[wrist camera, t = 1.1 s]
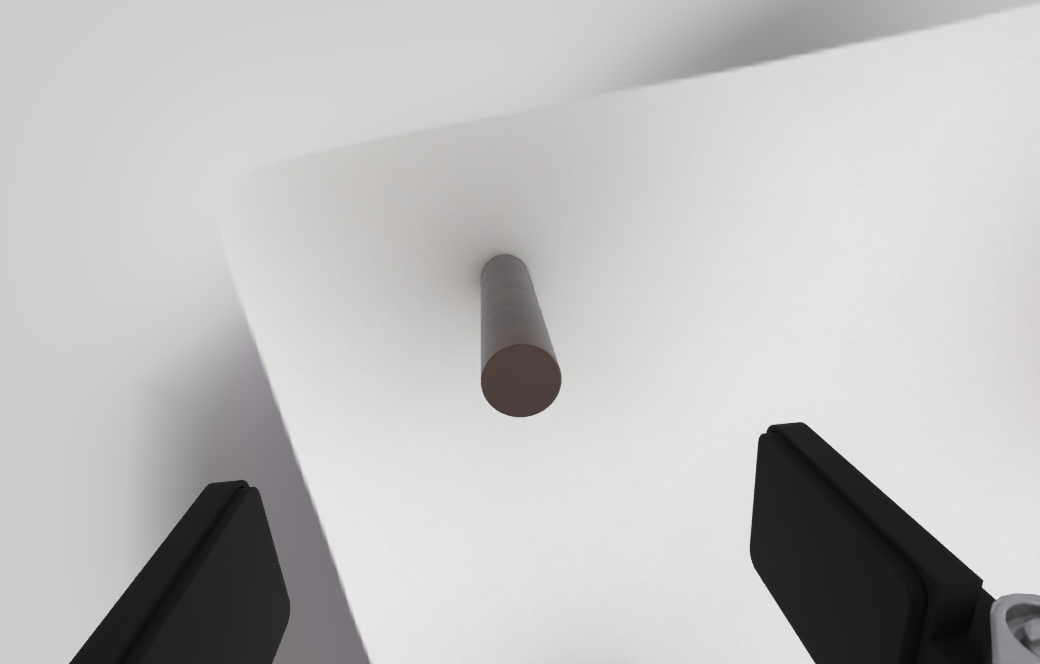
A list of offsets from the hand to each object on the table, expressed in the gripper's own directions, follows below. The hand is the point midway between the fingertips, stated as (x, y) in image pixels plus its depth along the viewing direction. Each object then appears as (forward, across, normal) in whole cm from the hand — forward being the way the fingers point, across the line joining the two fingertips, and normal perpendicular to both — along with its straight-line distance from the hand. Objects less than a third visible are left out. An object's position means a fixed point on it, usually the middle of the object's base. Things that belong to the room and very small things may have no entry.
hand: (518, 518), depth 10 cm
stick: (+18, -1, 0) cm, 18 cm away
